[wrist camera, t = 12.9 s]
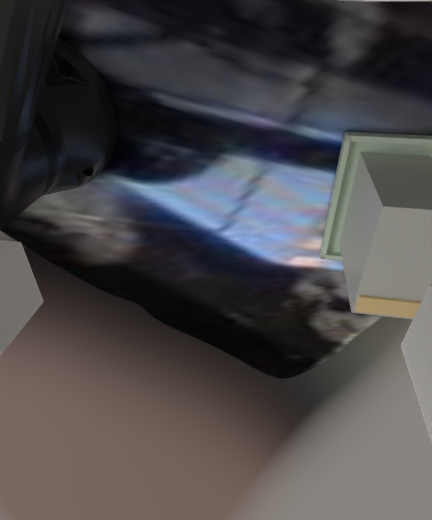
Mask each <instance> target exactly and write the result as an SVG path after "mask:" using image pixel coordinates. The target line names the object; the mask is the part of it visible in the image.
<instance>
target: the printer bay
mask: <svg viewBox="0 0 432 520" xmlns="http://www.w3.org/2000/svg"><path fill="white" fill-rule="evenodd" d="M337 1H432V0H337Z"/></svg>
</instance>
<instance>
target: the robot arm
mask: <svg viewBox="0 0 432 520" xmlns="http://www.w3.org/2000/svg"><path fill="white" fill-rule="evenodd" d="M68 3H69V0H0V229H1V228H2V227H3V226H4V225H6V224H7V223H8V222H9V221H11V220H12V219H13V218H14V217H16V216H17V215H18V214H20V213H21V212H22V211H23V210H25V209H26V208H27V207H28V206H30V205H31V204H32V203H33V202H35V201H36V200H37V199H38V198H40V197H41V196H42V195H46V194H51V193H56V192H61V191H66V190H70V189H74V188H78V187H80V186H82V185H84V184H86V183H88V182H89V181H91V180H92V179H93V178H94V177H96V176H97V175H98V174H99V173H100V172H101V171H102V170H103V169H104V168H105V167H106V166H107V164H108V163H109V161H110V159H111V157H112V155H113V153H114V150H115V146H116V140H117V122H116V115H115V110H114V106H113V103H112V100H111V98H110V95H109V93H108V91H107V88H106V86H105V85H104V83H103V81H102V79H101V78H100V76H99V75H98V73H97V72H96V70H95V69H94V68H93V66H92V65H91V64H90V63H89V62H88V60H87V59H86V58H85V57H84V56H83V55H82V54H81V53H80V52H78V51H77V50H76V49H75V48H74V47H72V46H71V45H70V44H68V43H67V42H65V41H64V40H62V39H60V38H59V37H58V36H59V33H60V29H61V26H62V23H63V19H64V16H65V13H66V9H67V6H68ZM42 303H43V299H42V296H41V294H40V291H39V289H38V286H37V283H36V280H35V278H34V275H33V273H32V270H31V267H30V265H29V262H28V260H27V257H26V254H25V252H24V249H23V246H22V244H21V242H14V241H3V240H0V356H1V354H2V353H3V352H4V350H5V349H6V348H7V347H8V345H9V344H10V343H11V342H12V340H13V339H14V338H15V337H16V336H17V334H18V333H19V332H20V331H21V329H22V328H23V327H24V326H25V324H26V323H27V322H28V321H29V319H30V318H31V317H32V315H33V314H34V313H35V312H36V311H37V309H38V308H39V307H40V305H41V304H42ZM401 348H402V351H403V355H404V357H405V361H406V364H407V367H408V370H409V373H410V377H411V380H412V383H413V386H414V389H415V393H416V396H417V398H418V402H419V405H420V408H421V411H422V415H423V418H424V421H425V424H426V427H427V430H428V433H429V437H430V439H431V443H432V284H430V285H429V287H428V289H427V291H426V293H425V295H424V297H423V299H422V302H421V304H420V306H419V308H418V310H417V312H416V314H415V316H414V319H413V321H412V323H411V325H410V327H409V329H408V331H407V334H406V336H405V338H404V340H403V342H402V344H401Z"/></svg>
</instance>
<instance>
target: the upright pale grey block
mask: <svg viewBox="0 0 432 520" xmlns="http://www.w3.org/2000/svg"><path fill="white" fill-rule="evenodd" d="M339 246H340V251H341V257H342V262H343V268H344V274H345V279H346V285H347V290H348V296H349V301H350V307H351V312H353V313H362V314H370V315H379V316H388V317H396V318H405V319H414V316H415V314H416V312H417V310H418V308H419V306H420V304H421V302H422V299H423V297H424V295H425V293H426V291H427V289H428V287H429V285H430V284H432V158H431V157H430V156H424V155H405V154H386V153H368V152H360V154H359V159H358V163H357V167H356V171H355V176H354V180H353V184H352V189H351V193H350V197H349V201H348V206H347V210H346V214H345V218H344V223H343V227H342V231H341V236H340V240H339Z"/></svg>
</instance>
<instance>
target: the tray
mask: <svg viewBox="0 0 432 520" xmlns="http://www.w3.org/2000/svg"><path fill="white" fill-rule="evenodd" d="M360 152H368V153H386V154H405V155H424V156H430V157H431V158H432V136H428V135H407V134H387V133H366V132H344V137H343V141H342V146H341V151H340V156H339V161H338V166H337V171H336V176H335V181H334V186H333V190H332V195H331V200H330V205H329V210H328V215H327V220H326V225H325V230H324V235H323V240H322V244H321V249H320V258H323V259H333V260H342V257H341V251H340V246H339V240H340V236H341V231H342V227H343V223H344V218H345V214H346V210H347V206H348V201H349V197H350V193H351V189H352V184H353V180H354V176H355V171H356V167H357V163H358V159H359V154H360Z"/></svg>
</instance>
